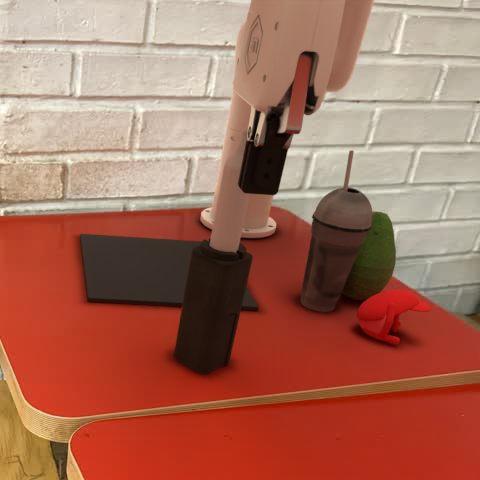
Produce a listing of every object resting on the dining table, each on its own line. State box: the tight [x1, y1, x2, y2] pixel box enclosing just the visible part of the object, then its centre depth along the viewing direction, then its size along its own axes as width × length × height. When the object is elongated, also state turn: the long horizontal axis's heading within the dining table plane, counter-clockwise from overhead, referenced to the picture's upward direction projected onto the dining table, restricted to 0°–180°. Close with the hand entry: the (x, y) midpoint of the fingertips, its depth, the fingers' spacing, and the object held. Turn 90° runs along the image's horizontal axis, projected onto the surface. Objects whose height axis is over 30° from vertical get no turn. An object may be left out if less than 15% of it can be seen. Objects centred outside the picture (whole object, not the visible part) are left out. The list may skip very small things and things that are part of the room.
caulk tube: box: [173, 127, 254, 375], centre depth 71 cm, size 5×5×25 cm
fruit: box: [341, 210, 397, 301], centre depth 92 cm, size 8×8×12 cm
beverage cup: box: [300, 149, 373, 313], centre depth 87 cm, size 7×7×20 cm
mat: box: [79, 233, 259, 312], centre depth 97 cm, size 22×22×1 cm
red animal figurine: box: [356, 289, 433, 345], centre depth 85 cm, size 8×6×6 cm
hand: (257, 190), depth 60 cm, fingers closed
